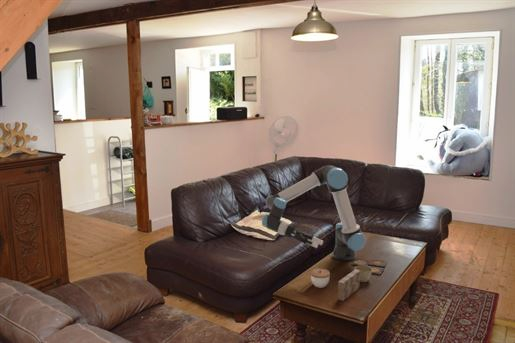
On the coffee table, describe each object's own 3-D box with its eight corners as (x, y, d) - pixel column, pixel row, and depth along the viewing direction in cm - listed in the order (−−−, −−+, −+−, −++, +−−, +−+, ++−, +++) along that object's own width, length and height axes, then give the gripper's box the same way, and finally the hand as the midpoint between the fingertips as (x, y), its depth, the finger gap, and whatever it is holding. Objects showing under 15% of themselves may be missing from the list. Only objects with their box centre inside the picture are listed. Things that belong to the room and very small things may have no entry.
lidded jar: (329, 290, 249) (329, 274, 248) (309, 288, 251) (309, 272, 250) (330, 282, 260) (330, 266, 258) (311, 281, 262) (311, 265, 260)
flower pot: (372, 277, 264) (373, 266, 263) (371, 284, 255) (371, 272, 253) (355, 276, 267) (355, 264, 266) (353, 282, 258) (353, 270, 257)
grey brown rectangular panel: (354, 286, 253) (355, 269, 252) (359, 287, 252) (360, 270, 250) (338, 299, 238) (338, 281, 236) (343, 300, 236) (343, 282, 234)
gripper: (290, 233, 278) (322, 247, 271) (278, 237, 254) (313, 253, 247) (294, 222, 277) (326, 236, 270) (283, 225, 254) (317, 240, 247)
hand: (320, 244), depth 259 cm, fingers open, 13 cm apart
